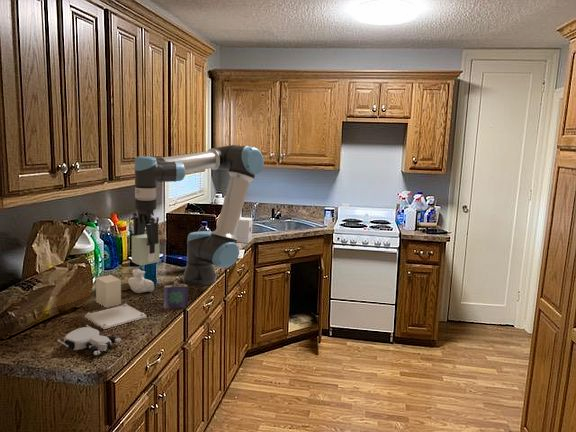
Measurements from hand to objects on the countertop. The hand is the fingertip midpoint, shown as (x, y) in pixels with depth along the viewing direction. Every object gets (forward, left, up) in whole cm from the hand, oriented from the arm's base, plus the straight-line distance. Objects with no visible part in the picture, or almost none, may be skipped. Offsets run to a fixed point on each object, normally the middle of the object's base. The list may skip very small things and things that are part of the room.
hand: (145, 259), depth 172 cm
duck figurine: (-8, -17, -20) cm, 27 cm away
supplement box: (-106, -59, -20) cm, 123 cm away
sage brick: (0, 0, -1) cm, 1 cm away
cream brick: (+8, -13, -19) cm, 25 cm away
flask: (-9, +7, -20) cm, 23 cm away
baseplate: (+13, +2, -19) cm, 23 cm away
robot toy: (+30, +18, -20) cm, 40 cm away
